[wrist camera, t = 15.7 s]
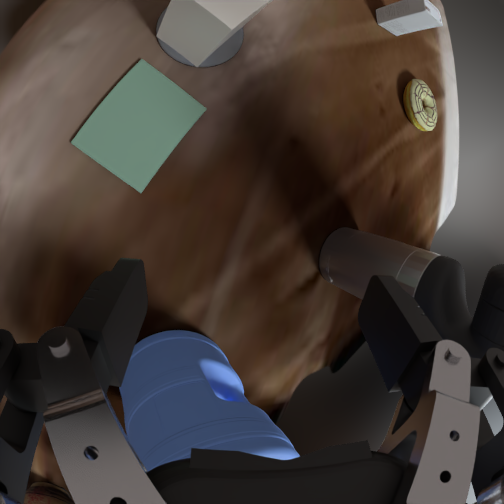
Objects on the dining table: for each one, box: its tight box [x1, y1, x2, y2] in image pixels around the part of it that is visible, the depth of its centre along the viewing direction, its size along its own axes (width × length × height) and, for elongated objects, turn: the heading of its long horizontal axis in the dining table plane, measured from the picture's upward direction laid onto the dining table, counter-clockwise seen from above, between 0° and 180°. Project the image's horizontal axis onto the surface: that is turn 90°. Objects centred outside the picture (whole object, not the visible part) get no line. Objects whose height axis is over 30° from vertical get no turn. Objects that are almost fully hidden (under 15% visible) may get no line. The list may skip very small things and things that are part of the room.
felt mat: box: [71, 59, 206, 193], centre depth 27 cm, size 12×10×1 cm
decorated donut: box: [403, 79, 437, 131], centre depth 44 cm, size 10×11×4 cm
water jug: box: [119, 330, 300, 471], centre depth 25 cm, size 16×16×28 cm
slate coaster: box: [156, 7, 243, 67], centre depth 27 cm, size 11×11×1 cm
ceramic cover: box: [156, 0, 273, 67], centre depth 21 cm, size 9×7×12 cm
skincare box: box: [376, 0, 443, 36], centre depth 33 cm, size 6×4×12 cm
